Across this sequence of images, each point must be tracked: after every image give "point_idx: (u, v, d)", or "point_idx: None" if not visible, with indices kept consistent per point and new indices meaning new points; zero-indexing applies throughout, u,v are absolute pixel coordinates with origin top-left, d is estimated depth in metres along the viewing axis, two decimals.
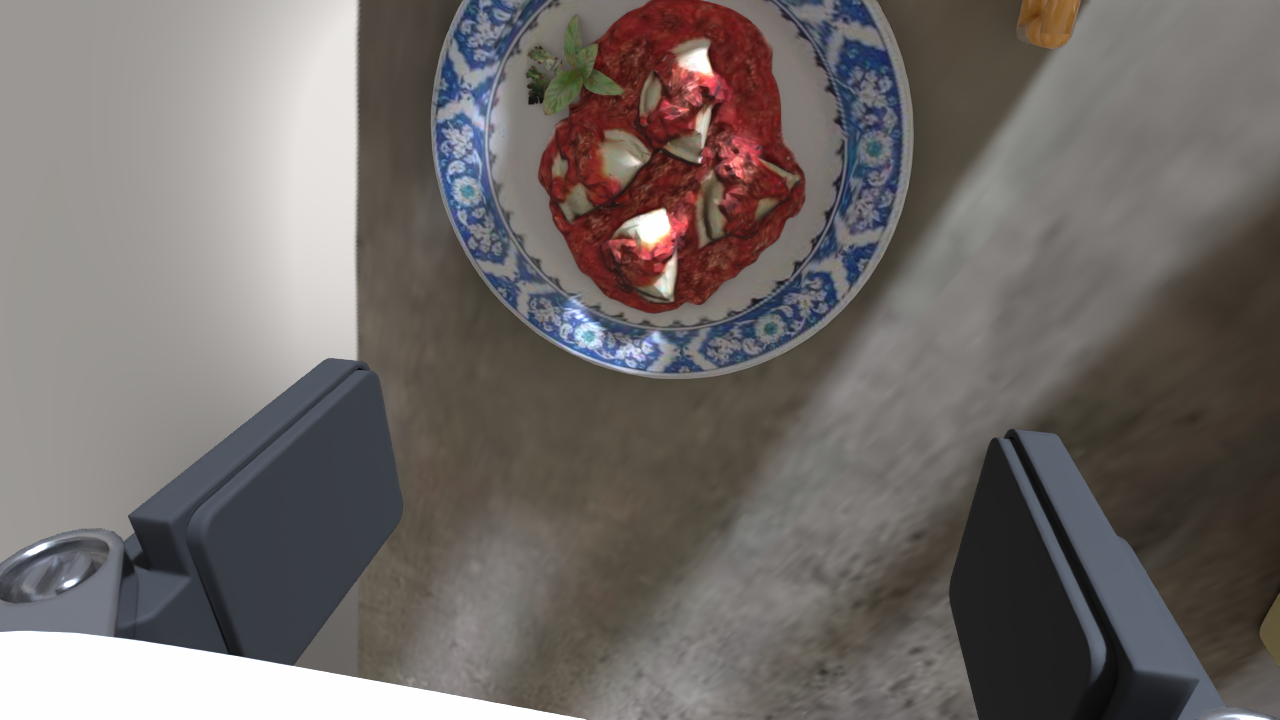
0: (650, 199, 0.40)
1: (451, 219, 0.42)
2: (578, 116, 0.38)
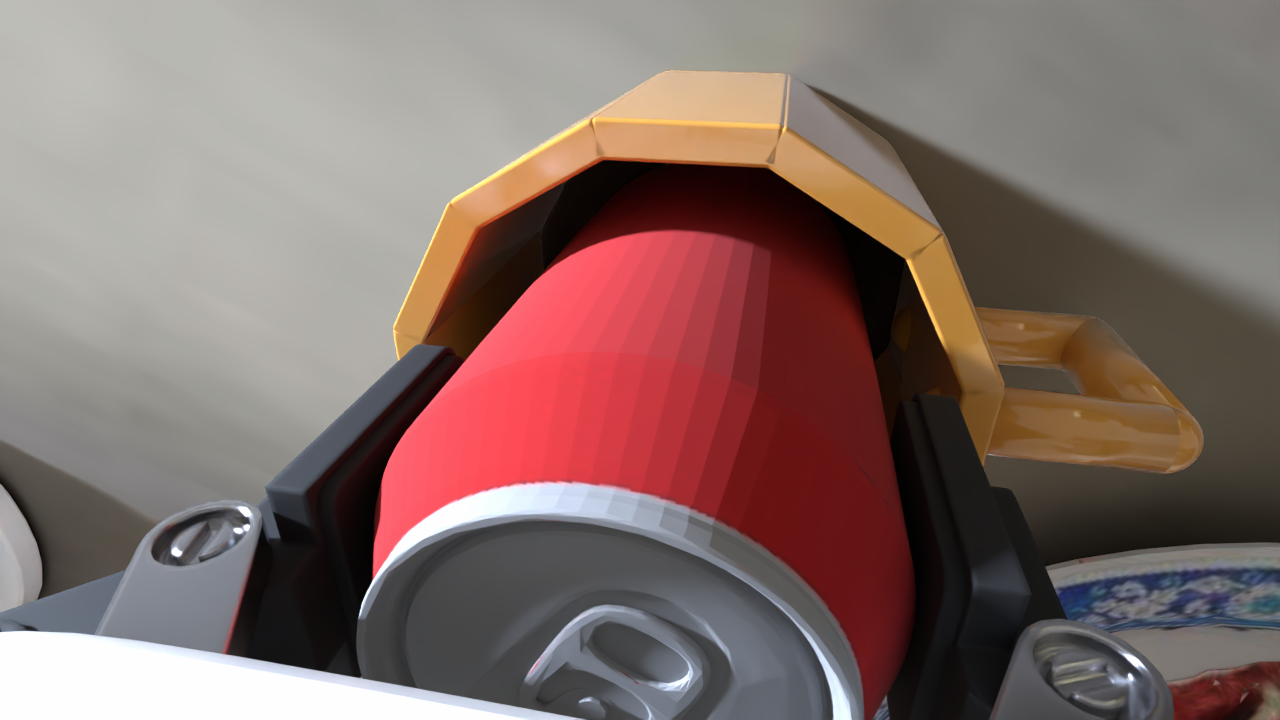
0: None
1: None
2: None
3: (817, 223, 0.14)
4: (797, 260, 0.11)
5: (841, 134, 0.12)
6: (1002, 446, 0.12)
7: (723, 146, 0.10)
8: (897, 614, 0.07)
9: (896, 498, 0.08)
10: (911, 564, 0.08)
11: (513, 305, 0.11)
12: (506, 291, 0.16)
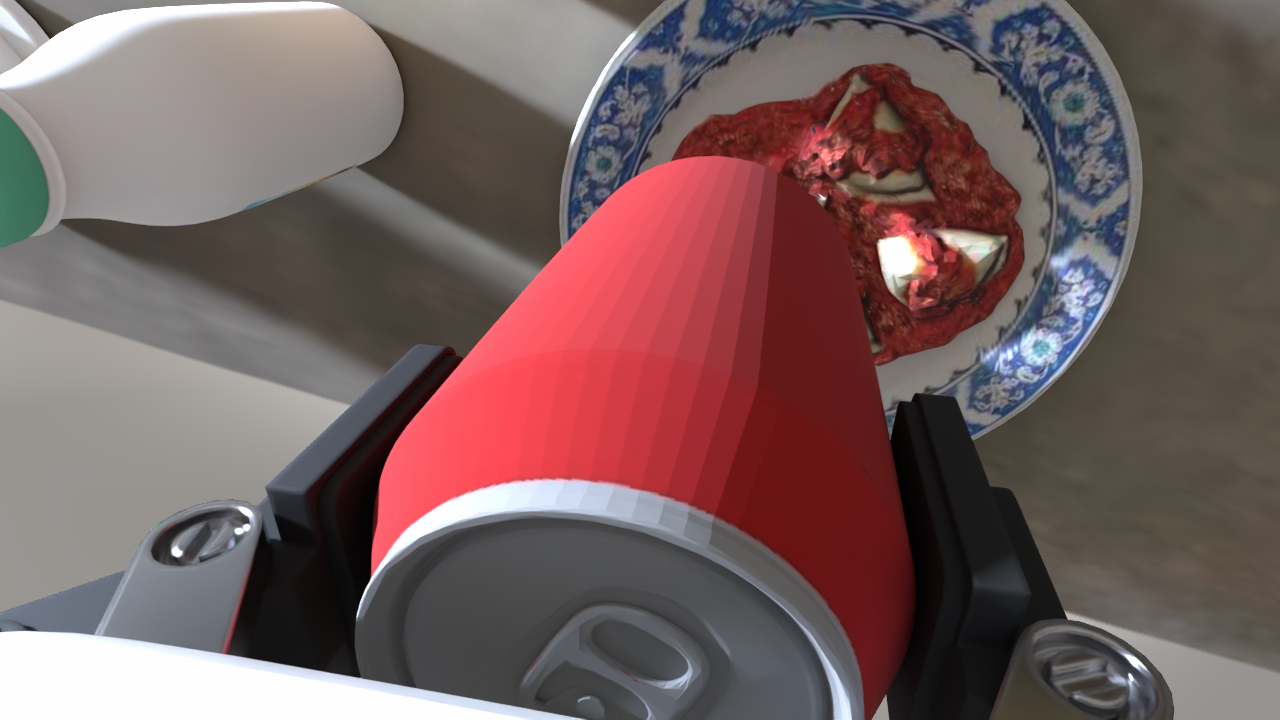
0: (864, 255, 0.34)
1: None
2: None
3: (817, 221, 0.14)
4: (797, 258, 0.11)
5: None
6: None
7: None
8: (897, 613, 0.07)
9: (896, 496, 0.08)
10: (911, 562, 0.08)
11: None
12: None
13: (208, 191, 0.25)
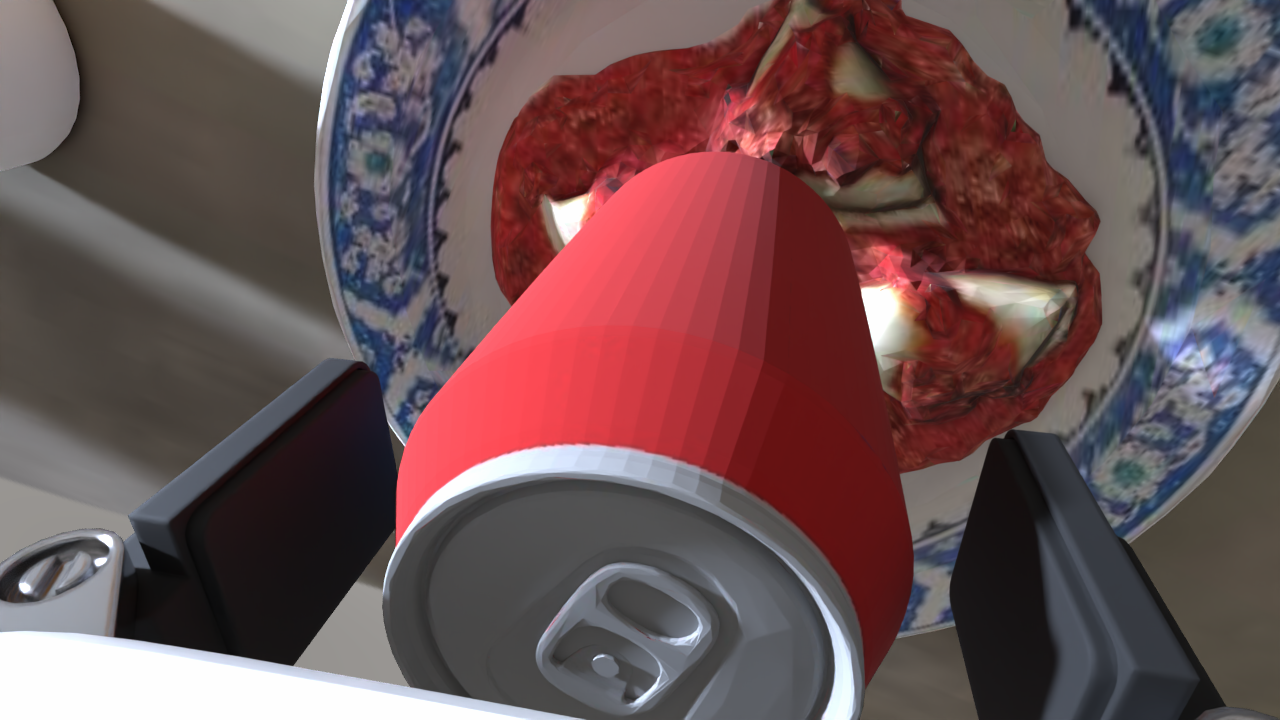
0: None
1: None
2: None
3: (818, 214, 0.14)
4: (799, 246, 0.11)
5: None
6: None
7: None
8: (896, 574, 0.08)
9: (894, 467, 0.09)
10: (909, 528, 0.08)
11: None
12: None
13: None
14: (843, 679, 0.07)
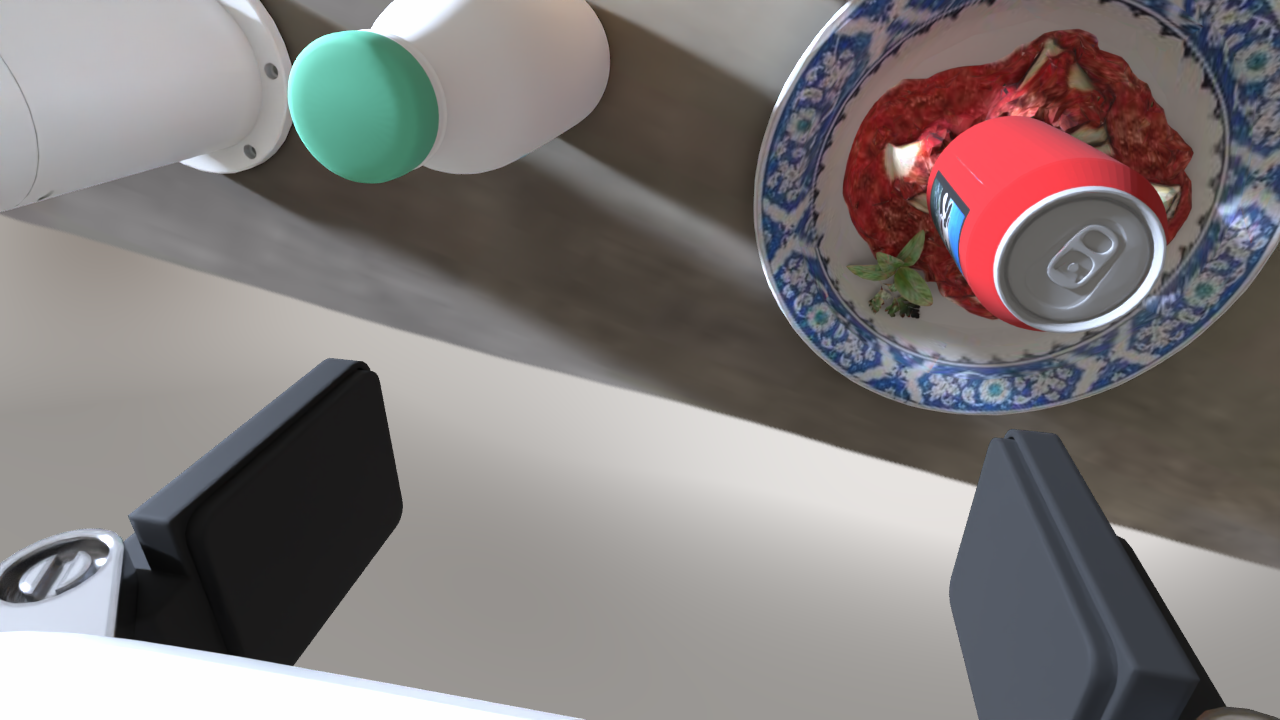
0: None
1: (1021, 410, 0.41)
2: (938, 274, 0.40)
3: None
4: None
5: None
6: None
7: None
8: (1166, 237, 0.25)
9: None
10: (1167, 225, 0.25)
11: (988, 164, 0.28)
12: None
13: (512, 140, 0.28)
14: (1156, 261, 0.24)
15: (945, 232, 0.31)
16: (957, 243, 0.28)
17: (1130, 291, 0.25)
